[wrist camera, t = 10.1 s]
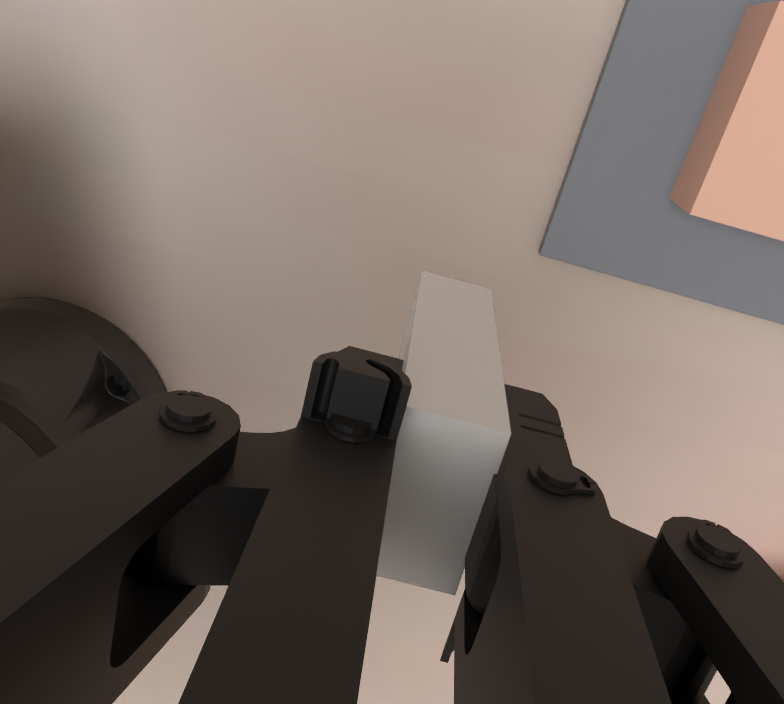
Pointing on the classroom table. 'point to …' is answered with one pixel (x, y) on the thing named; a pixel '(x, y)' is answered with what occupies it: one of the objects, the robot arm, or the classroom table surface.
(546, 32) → the classroom table surface
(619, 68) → the slate mat
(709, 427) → the classroom table surface
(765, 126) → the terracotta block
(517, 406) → the robot arm
